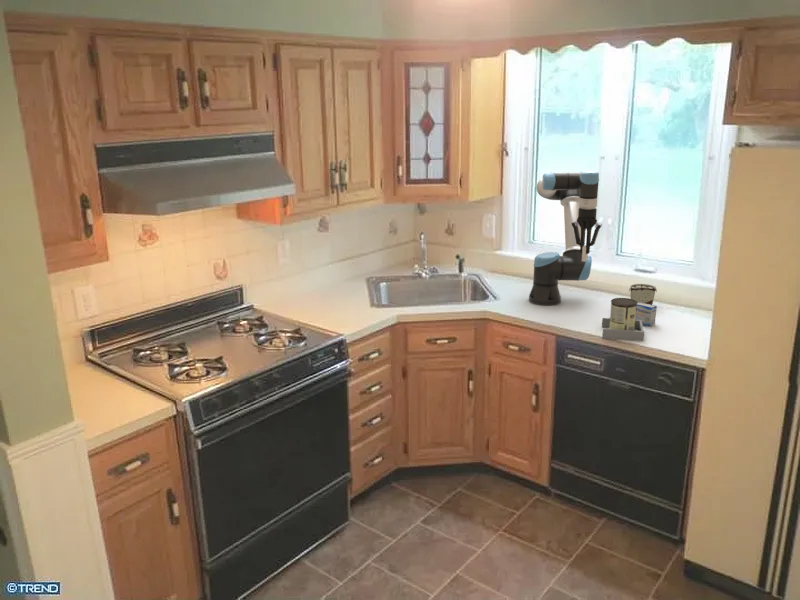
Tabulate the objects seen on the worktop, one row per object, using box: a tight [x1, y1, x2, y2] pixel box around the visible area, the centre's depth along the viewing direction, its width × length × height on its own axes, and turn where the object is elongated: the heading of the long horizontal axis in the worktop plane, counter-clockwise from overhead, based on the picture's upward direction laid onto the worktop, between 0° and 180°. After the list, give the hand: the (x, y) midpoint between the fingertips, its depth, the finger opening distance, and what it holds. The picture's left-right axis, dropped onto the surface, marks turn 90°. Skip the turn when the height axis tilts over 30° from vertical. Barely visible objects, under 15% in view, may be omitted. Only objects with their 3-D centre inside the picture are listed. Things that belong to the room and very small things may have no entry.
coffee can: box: [608, 297, 637, 331], centre depth 284 cm, size 10×10×14 cm
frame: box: [601, 317, 645, 342], centre depth 285 cm, size 16×15×4 cm
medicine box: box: [635, 302, 657, 327], centre depth 296 cm, size 8×4×9 cm, turn 45°
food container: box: [628, 283, 658, 305], centre depth 320 cm, size 12×6×10 cm, turn 84°
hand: (584, 260), depth 301 cm, fingers closed
